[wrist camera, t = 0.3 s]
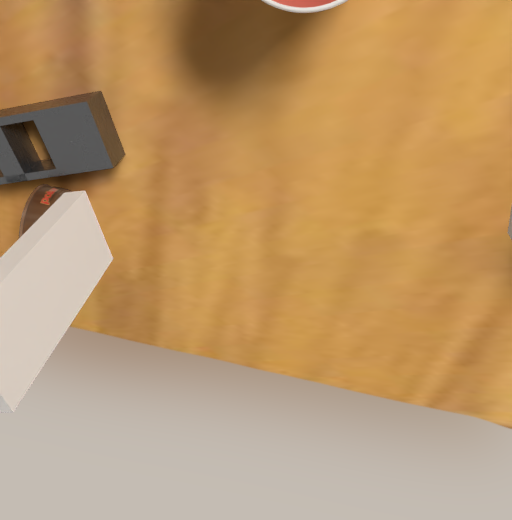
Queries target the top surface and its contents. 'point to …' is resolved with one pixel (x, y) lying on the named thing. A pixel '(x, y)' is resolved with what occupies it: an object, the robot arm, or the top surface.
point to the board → (59, 138)
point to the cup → (304, 5)
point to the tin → (39, 205)
